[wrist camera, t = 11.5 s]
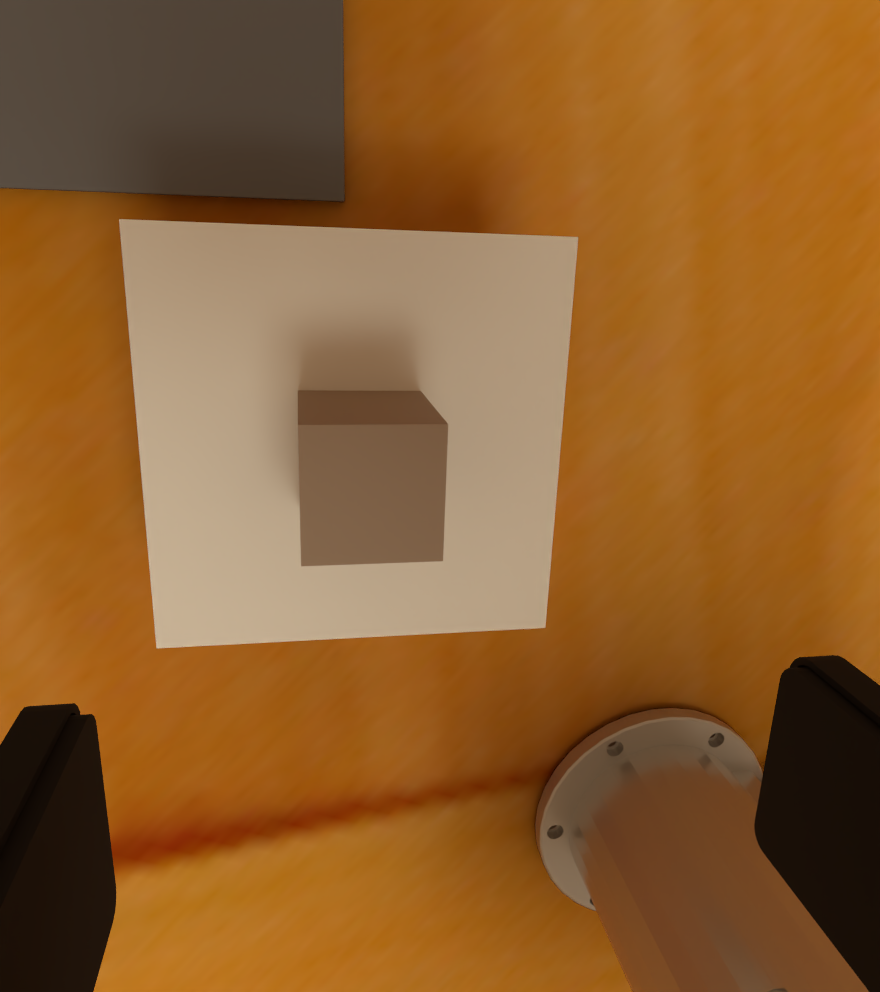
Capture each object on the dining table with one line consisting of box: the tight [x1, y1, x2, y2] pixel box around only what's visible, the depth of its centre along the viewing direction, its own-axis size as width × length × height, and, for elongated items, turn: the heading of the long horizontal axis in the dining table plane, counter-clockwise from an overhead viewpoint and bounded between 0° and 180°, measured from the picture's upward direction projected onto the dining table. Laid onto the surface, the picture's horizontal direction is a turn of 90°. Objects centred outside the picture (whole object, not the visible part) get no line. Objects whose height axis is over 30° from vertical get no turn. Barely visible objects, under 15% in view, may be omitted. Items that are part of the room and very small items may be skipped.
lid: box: [119, 219, 578, 648], centre depth 24 cm, size 14×14×6 cm
